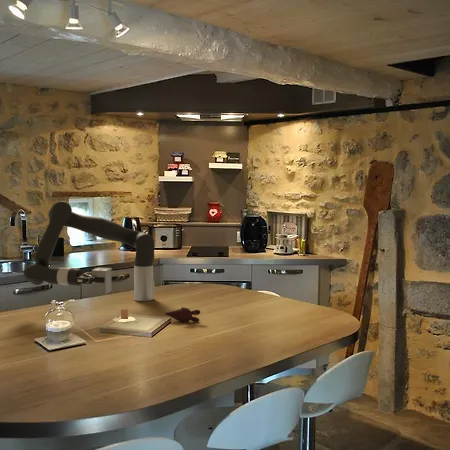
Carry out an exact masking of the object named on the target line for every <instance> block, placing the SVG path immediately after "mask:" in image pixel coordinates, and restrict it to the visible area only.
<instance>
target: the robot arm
mask: <svg viewBox="0 0 450 450" xmlns="http://www.w3.org/2000/svg"><path fill="white" fill-rule="evenodd" d="M47 215H48V218H49V222H48V225H47V227H46V230H45V231H44V233H43V235H42V237H41V239H40V241H39V243H38V245H37V248H36V250H35V253H34V255H33V260H34V264H30V265H28V266H26V267H25V268H24V270H23V276H24V278H25V279H26V280H28V281H29V282H30V283H31V284H32V285H34V286H39V285H42V284H43V283H44V282H46V283H48V284H51V285H63V286H71V287H72V286H74V287H75V286H77V287H80V286H82V284H83V285H85V284H87V285H92V283H104V278H103V277H92V271H87V272H84V270H83V269H82V268H79V267H78V268H76V267H50V266H49V265H50V261H51V258H52V257H53V253H54V251H55V248H56V245H57V243H58V240H59V238H60V235H61V233H62V230H63V229H64V227H68V228H72V229H76V230H79V231H81V232H84V233H87V234H89V235H92V236H94V237H98V238H101V239H104V240H109V241H114V242H119V243H123V244H126V245H128V246H129V247H132V248H134V249H135V259H133V260H134V261H133V268H134V269H133V271H134V272H133V277H134V278H133V293H134V294H133V298H134V299H133V300H134V301H138V302H149V301H152V300H155V280H154V261H155V240H154V237H153V235H151V234H148V233H146V232H143V231H137V230H133V229H130V228H126V227H125V226H122V225H121V224H119V223H118V222H115V221H114V222H113V221H112V220H110V219H107V218H103V217H100V216H97V215H96V216H93V215H83V214H79V213H76V212H74V211H73V209H72V206H71V204H70V203H68V202H67V201H65V200H60V201H59V200H58V201H57V202H55V203H54V204H52V206H51V208H50V209H49V210H48V214H47Z"/></svg>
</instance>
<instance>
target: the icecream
mask: <svg viewBox="0 0 450 450" xmlns="http://www.w3.org/2000/svg"><path fill="white" fill-rule="evenodd" d="M200 314H201V310H199V309H194V310H191V309H190V308H187V307H183V306H181V308H178V309H175V310H171V311H168V312H164V315H165V316H168V317H171V318H172V319H175V320H176V321H179V323H188V322H190V321H191V322H193V323H199V322H200V318H199V317H197V316H198V315H200Z"/></svg>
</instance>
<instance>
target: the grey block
mask: <svg viewBox="0 0 450 450" xmlns="http://www.w3.org/2000/svg"><path fill="white" fill-rule="evenodd" d="M91 272H92V277H103V278H104V283H92V284H91V294H96V295H98V294H99V295H107V294H109V293H110V292H112V267H96V268H93V269H91Z"/></svg>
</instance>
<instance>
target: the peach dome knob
mask: <svg viewBox="0 0 450 450" xmlns="http://www.w3.org/2000/svg"><path fill="white" fill-rule="evenodd" d="M120 316H121V319H128V316H129V309H127V308H123V309H120Z"/></svg>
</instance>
